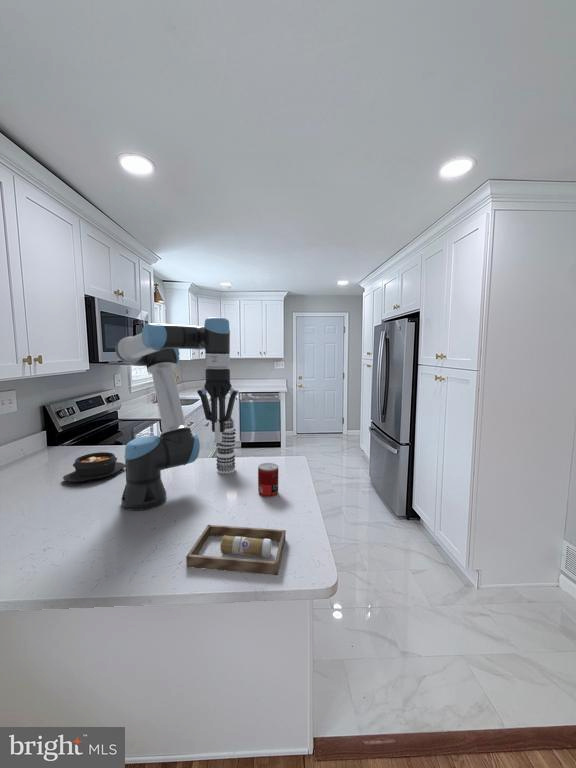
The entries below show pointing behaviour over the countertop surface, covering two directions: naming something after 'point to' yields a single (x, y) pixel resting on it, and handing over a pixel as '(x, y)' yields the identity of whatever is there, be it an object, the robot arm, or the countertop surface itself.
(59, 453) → the countertop surface
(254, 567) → the frame
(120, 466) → the casserole
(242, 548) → the sprinkles bottle
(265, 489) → the canned food
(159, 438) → the robot arm
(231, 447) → the decorative candle
